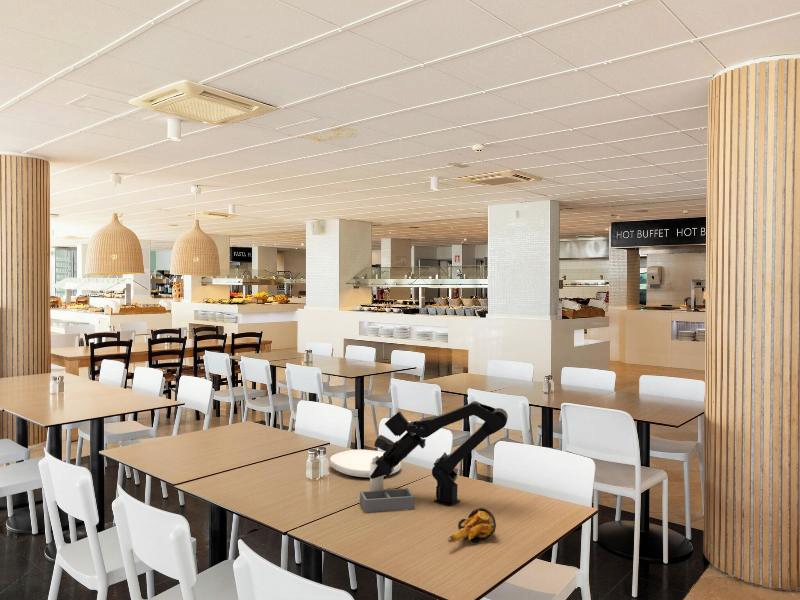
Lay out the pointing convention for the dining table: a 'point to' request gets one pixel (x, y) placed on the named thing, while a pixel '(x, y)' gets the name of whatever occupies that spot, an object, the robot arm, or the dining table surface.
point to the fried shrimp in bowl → (475, 527)
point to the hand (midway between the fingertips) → (372, 475)
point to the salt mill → (376, 482)
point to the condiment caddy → (387, 500)
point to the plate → (356, 462)
